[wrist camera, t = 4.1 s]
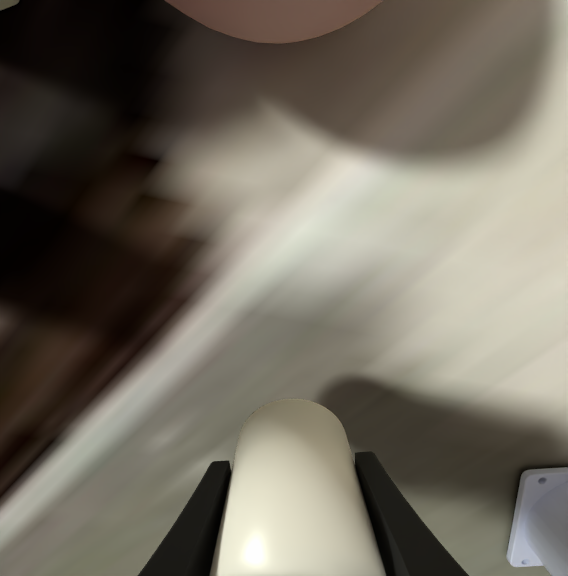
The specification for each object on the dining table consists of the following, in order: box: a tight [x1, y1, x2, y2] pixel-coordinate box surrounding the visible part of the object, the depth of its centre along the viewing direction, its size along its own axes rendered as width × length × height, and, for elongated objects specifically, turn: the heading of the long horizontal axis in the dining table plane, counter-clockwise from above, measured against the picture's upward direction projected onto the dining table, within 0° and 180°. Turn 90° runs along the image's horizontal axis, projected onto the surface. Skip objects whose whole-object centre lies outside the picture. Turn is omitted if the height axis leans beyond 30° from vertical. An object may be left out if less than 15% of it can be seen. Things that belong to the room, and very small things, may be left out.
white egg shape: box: [209, 399, 386, 576], centre depth 9 cm, size 5×5×5 cm
